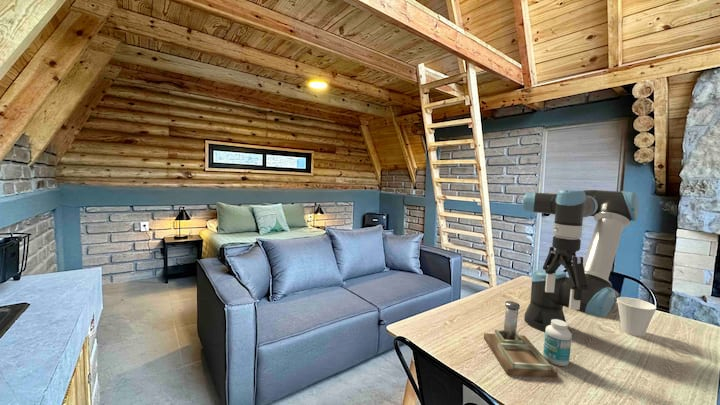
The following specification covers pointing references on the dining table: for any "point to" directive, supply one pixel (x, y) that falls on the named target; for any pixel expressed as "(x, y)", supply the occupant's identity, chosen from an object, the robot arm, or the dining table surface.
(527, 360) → the dock board
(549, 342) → the pill bottle
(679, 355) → the dining table surface
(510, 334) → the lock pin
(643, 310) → the cup
